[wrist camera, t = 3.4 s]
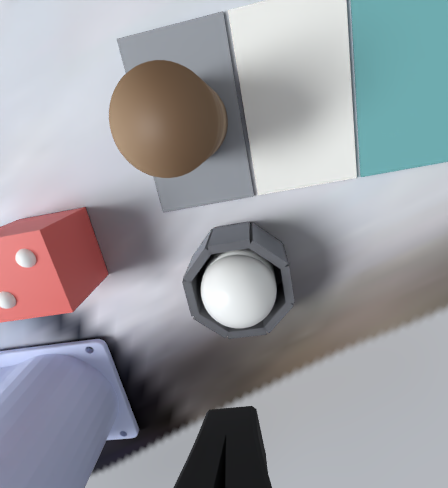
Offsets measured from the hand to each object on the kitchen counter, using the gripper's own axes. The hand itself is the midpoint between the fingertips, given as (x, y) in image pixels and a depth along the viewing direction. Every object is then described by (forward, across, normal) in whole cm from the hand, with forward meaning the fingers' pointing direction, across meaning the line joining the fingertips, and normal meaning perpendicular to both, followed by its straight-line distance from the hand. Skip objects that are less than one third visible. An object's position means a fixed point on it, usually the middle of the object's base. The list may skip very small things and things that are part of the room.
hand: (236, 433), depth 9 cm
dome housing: (+9, 0, -1) cm, 9 cm away
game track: (+9, -4, -9) cm, 13 cm away
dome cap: (+9, 0, -1) cm, 9 cm away
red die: (+9, +10, -4) cm, 14 cm away
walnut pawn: (+9, +1, -9) cm, 13 cm away
